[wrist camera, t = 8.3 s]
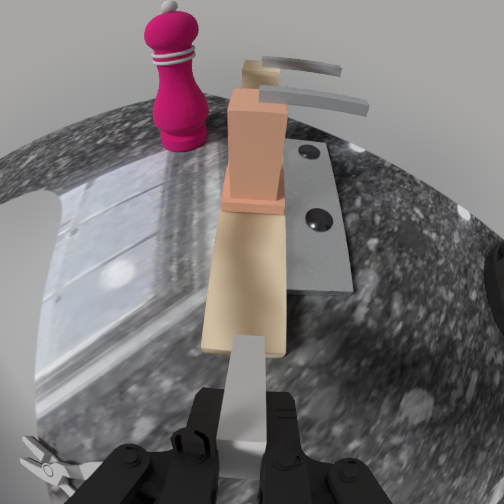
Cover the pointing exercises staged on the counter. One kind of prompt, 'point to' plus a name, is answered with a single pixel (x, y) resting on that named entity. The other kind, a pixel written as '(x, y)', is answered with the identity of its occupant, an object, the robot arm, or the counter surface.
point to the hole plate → (313, 223)
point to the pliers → (55, 466)
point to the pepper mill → (176, 80)
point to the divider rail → (252, 252)
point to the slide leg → (267, 143)
